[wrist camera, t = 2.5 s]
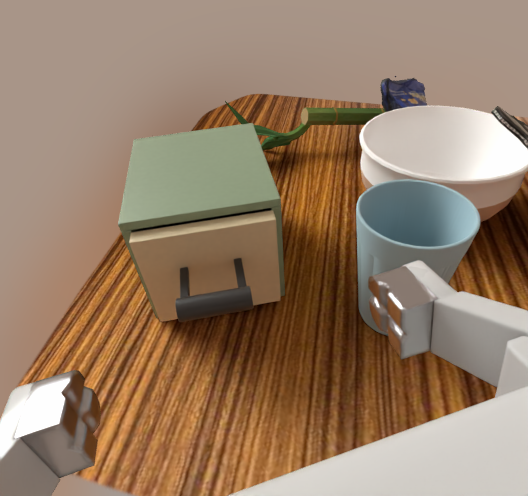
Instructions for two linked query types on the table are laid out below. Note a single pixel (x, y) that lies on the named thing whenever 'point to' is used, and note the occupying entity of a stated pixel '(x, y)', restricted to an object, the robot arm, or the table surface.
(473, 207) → the cup
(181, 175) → the cabinet
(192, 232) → the beige drawer
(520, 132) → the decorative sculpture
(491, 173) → the bowl
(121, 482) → the table surface
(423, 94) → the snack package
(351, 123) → the decorative plant
